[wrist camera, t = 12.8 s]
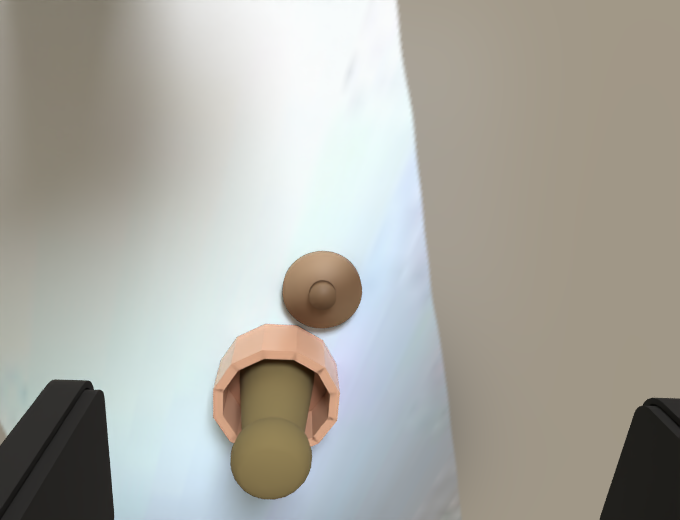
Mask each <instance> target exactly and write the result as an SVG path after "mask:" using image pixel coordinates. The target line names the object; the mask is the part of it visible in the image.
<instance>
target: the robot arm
mask: <svg viewBox="0 0 680 520" xmlns="http://www.w3.org/2000/svg"><path fill="white" fill-rule="evenodd" d="M0 520H114V506H113V494H112V482H111V470H110V458H109V446H108V434H107V422H106V410H105V398H104V393H103V391H101V390H94V389H93V385H92V383H91V382H90V381H83V380H52V381H50V382H49V383H48V384H47V386H46V387H45V388H44V390H43V391H42V392H41V393H40V395H39V396H38V397H37V399H36V400H35V401H34V403H33V404H32V405H31V406H30V408H29V409H28V410H27V412H26V413H25V414H24V415H23V417H22V418H21V419H20V421H19V422H18V423H17V425H16V426H15V427H14V428H13V430H12V431H11V432H10V434H9V435H8V436H7V438H6V439H5V440H4V441H3V443H2V444H1V445H0ZM600 520H680V399H675V398H674V399H673V398H650V399H647V400H646V401H645V402H644V404H643V406H640V407H638V408H637V409H636V411H635V413H634V416H633V419H632V422H631V425H630V428H629V431H628V434H627V438H626V440H625V443H624V447H623V449H622V452H621V456H620V459H619V462H618V465H617V468H616V471H615V474H614V477H613V480H612V483H611V486H610V489H609V492H608V495H607V498H606V501H605V504H604V507H603V510H602V513H601V516H600Z"/></svg>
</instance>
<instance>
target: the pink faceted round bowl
mask: <svg viewBox="0 0 680 520" xmlns="http://www.w3.org/2000/svg"><path fill="white" fill-rule="evenodd" d="M262 359H285V360H295V361H297V362H298V363H300V364H302V365H304V366H306V367H307V368H309V369H311V370H313V371H314V374H315V375H314V385H313V390H312V396H311V401H310V407H309V412H308V418H307V423H306V428H305V434H306V436H307V438H308V440H309V443H310V447H311V446H313V445H316V444H318V443H319V442H320V441H321V440H322V439H323V437H324V436H325V435H326V434H327V432H328V431H329V430H330V429H331V427H332V426H333V425H334V424H335V422H336V421H337V416H338V405H339V395H340V391H339V382H338V374H337V366H336V363H335V361H334V359H333V357H332V356H331V354H330V352H329V350H328V348H327V347H326V345H325V343H324V341H323V340H321V339H320V338H318V337H316V336H314V335H313V334H311V333H309V332H308V331H306V330H304V329H302V328H301V327H299V326H297V325H275V324H264V325H262V326H260V327H258V328H256V329H253V330H251V331H249V332H247V333H245V334H243V335H240V336H238V337H237V338H236V339H235V341H234V342H233V344H232V345H231V346H230V348H229V349H228V351H227V352H226V354H225V355H224V356H223V358H222V359H221V362H220V366H219V369H218V373H217V377H216V381H215V385H214V389H213V418H214V419H215V421H216V422H217V423H218V425H219V426H220V428H221V429H222V431H223V432H224V433H225V435H226V436H227V438H228V439H229V441H230V442H232V443H235V440H236V438H237V436H238V435H239V433H240V432H241V431H242V425H241V403H240V369H243V368H245V367H247V366H249V365H251V364H254V363H256V362H258V361H260V360H262Z"/></svg>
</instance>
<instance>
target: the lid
mask: <svg viewBox="0 0 680 520" xmlns="http://www.w3.org/2000/svg"><path fill="white" fill-rule="evenodd" d="M361 296H362V286H361V281H360V277H359V274H358V272H357V270H356V268H355V267H354V265H353V264H352V263H351V262H350V261H349V260H348V259H346V258H345V257H343V256H341V255H339V254H337V253H334V252H329V251H317V252H312V253H308V254H306V255H304V256H302V257H300V258H299V259H297V260H296V261H295V262H294V263H293V264H292V265H291V266H290V268H289V269H288V271H287V273H286V275H285V278H284V282H283V300H284V303H285V306H286V308H287V310H288V311H289V313H290V314H291V315H292V316H293V317H294V318H295V319H296V320H297V321H299V322H301V323H302V324H304V325H307V326H310V327H314V328H329V327H334V326H337V325H339V324H341V323H343V322H345V321H346V320H348V319H349V318H350V317H351V316H352V315H353V314H354V313H355V311H356V310H357V308H358V306H359V304H360V301H361Z"/></svg>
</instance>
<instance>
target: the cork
mask: <svg viewBox="0 0 680 520" xmlns="http://www.w3.org/2000/svg"><path fill="white" fill-rule="evenodd" d="M314 375H315V374H314V371H313V370H311V369H309V368H307V367H306V366H304V365H302V364H300V363H298V362H297V361H295V360H285V359H262V360H260V361H258V362H256V363H254V364H251V365H249V366H247V367H245V368H243V369H240V403H241V425H242V431H241V432H240V433H239V435H238V436H237V438H236V440H235V443H234V445H233V447H232V451H231V464H230V465H231V470H232V473H233V476H234V478H235V480H236V482H237V483H238V484H239V485H240V487H241V488H242V489H243V490H244V491H245V492H247V493H248V494H250V495H252V496H254V497H257V498H261V499H278V498H282V497H286V496H288V495H289V494H291V493H293V492H295V491H296V490H297V489H298V488H299V487H300V486H301V485H302V484H303V483H304V482H305V480H306V478H307V476H308V474H309V471H310V468H311V461H312V450H311V447H310V443H309V440H308V438H307V436H306V434H305V428H306V423H307V418H308V412H309V407H310V401H311V396H312V390H313V385H314Z"/></svg>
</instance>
